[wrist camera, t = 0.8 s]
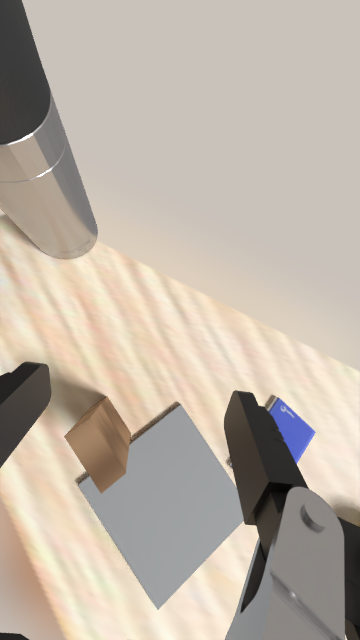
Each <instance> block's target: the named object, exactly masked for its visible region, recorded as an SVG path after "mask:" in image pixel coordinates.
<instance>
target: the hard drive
mask: <svg viewBox="0 0 360 640" xmlns="http://www.w3.org/2000/svg"><path fill="white" fill-rule="evenodd" d="M267 411H268V412H269V413H270V414H271V415H272V416H273V418H274V420H275V422H276V424H277V426H278V428H279V432H281V434H282V436H283V438H284V442H286V444H287V446H288V448H289V450H290V452H291V454H292V456H293V458H294V460H295V462H296V464H297V462H298V461H299V459H300V457H301V456H302V454H303V452H304V451H305V449H306V447H307V446H308V444H309V442H310V441H311V439H312V438H313V436H314V434H315V431H314V430H313V429H312V428H311V427H310V426H309V425H308V424H307V423H306V422H305V421H303V420H302V419H301V418H300V417H299V416H298V415H297V414H296V413H295V412H294V411H293V410H292V409H291V408H290V407H289V406H288V405H286V404H285V403H284V402H283V401H282V400H281V399H280V398H278V397H275V398H274V400H273V401H272V403H271V404H270V406H269V407H268V409H267ZM230 465H231V467H232V463H230ZM232 468H233V467H232Z"/></svg>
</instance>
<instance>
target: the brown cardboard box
mask: <svg viewBox="0 0 360 640" xmlns="http://www.w3.org/2000/svg"><path fill="white" fill-rule="evenodd" d="M130 436H131V432H130V431H129V429H128V428H127V426H126V425H125V423H124V422H123V420H122V418H121V417H120V415H119V414H118V412H117V411H116V409H115V408H114V406H113V405H112V403H111V402H110V400H109V399H108V397H106V398H104V399H103V400H101V401H100V402H98V403H97V404H96V405H94V406H93V407H91V408H90V409H89V410H88V411H87V413H86V414H85V415H84V416H83V417H82V418H81V419H80V420H79V421H78V422H77V423H76V424H75V425H74V427H73V428H72V429H71V430H70V431H69V432H68V433H67V434H66V435H65V436H64V437H65V438H66V440H67V441H68V443H69V445H70V446H71V448H72V449H73V451H74V452H75V454H76V455H77V457H78V459H79V460H80V462H81V463H82V465H83V466H84V468H85V470H86V471H87V473H88V474H89V476H90V477H91V479H92V480H93V482H94V484H95V485H96V487H97V488H98V490H99V491H100V493H101V494H102V493H103V492H104V491H105V490H106V489H108V488H109V487H110V486H111V485H113V484H114V483H115V482H116V481H117V480H119V479H120V478H121V477H122V476H124V475H125V474H126V468H127V460H128V452H129V444H130Z"/></svg>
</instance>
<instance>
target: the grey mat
mask: <svg viewBox="0 0 360 640" xmlns="http://www.w3.org/2000/svg"><path fill="white" fill-rule="evenodd" d="M78 486H79V487H80V489H81V491H82V492H83V494H84V495H85V497H86V498H87V500H88V502H89V503H90V505H91V506H92V508H93V509H94V511H95V513H96V514H97V516H98V517H99V519H100V520H101V522H102V523H103V525H104V527H105V528H106V530H107V531H108V533H109V534H110V536H111V538H112V539H113V541H114V542H115V544H116V545H117V547H118V549H119V550H120V552H121V553H122V555H123V556H124V558H125V559H126V561H127V563H128V564H129V566H130V567H131V569H132V570H133V572H134V574H135V575H136V577H137V578H138V580H139V581H140V583H141V585H142V586H143V588H144V589H145V591H146V592H147V594H148V595H149V597H150V599H151V600H152V602H153V603H154V605H155V606H156V608H157V610H158V609H159V608H160V607H161V606H162V605H163V604H164V603H165V602H166V601H167V600H168V599H169V598H170V597H171V596H172V595H173V594H174V593H175V592H176V591H177V589H178V588H179V587H180V586H181V585H182V584H183V583H184V582H185V581H186V580H187V579H188V578H189V577H190V576H191V575H192V574H193V573H194V572H195V571H196V570H197V569H198V568H199V566H200V565H201V564H202V563H203V562H204V561H205V560H206V559H207V558H208V557H209V556H210V555H211V554H212V553H213V552H214V551H215V550H216V549H217V548H218V547H219V546H220V545H221V544H222V542H223V541H224V540H225V539H226V538H227V537H228V536H229V535H230V534H231V533H232V532H233V531H234V530H235V529H236V528H237V527H238V526H239V525H240V524H241V523H242V522H243V521H244V518H243V513H242V509H241V504H240V500H239V495H238V490H237V488H236V486H235V485H234V483H233V482H232V480H231V479H230V477H229V476H228V474H227V473H226V471H225V470H224V468H223V467H222V465H221V464H220V462H219V461H218V459H217V458H216V456H215V455H214V453H213V452H212V450H211V449H210V447H209V446H208V444H207V443H206V441H205V440H204V438H203V437H202V435H201V434H200V432H199V431H198V429H197V428H196V426H195V425H194V423H193V422H192V420H191V419H190V417H189V416H188V414H187V413H186V411H185V410H184V408H183V407H182V405H181V404H179V405H178V406H177V407H175V408H174V409H173V410H172V411H170V412H169V413H168V414H166V415H165V416H164V417H163V418H161V419H160V420H159V421H157V422H156V423H155V424H154V425H152V426H151V427H150V428H149V429H147V430H146V431H145V432H143V433H142V434H141V435H140V436H138V437H137V438H136V439H134V440H133V441H132V442H131V443H130V444H129V452H128V460H127V468H126V474H125V475H124V476H122V477H121V478H120V479H119V480H117V481H116V482H115V483H114V484H113V485H111V486H110V487H109V488H108V489H106V490H105V491H104V492H103V493H102V494H101V493H100V491H99V490H98V488H97V487H96V485H95V484H94V482H93V480H92V479H91V477H90V476H89V475H88V476H87V477H86V478H85V479H83V480H82V481H81V482H80V483H79V485H78Z"/></svg>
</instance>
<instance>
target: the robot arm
mask: <svg viewBox="0 0 360 640" xmlns="http://www.w3.org/2000/svg"><path fill="white" fill-rule="evenodd" d="M0 208H1V209H2V211H3V212H4V213H5V214H6V215H7V216H8V217H9V218H10V219H11V220H12V221H13V222H14V223H15V224H16V225H17V226H18V227H19V228H20V229H21V230H22V231H23V232H24V233H25V234H26V236H27V237H28V238H29V239H30V240H31V241H32V242H33V243H34V244H35V245H36V246H37V247H38V248H39V249H40V250H41V251H43V252H44V253H46V254H47V255H49V256H52V257H54V258H59V259H72V258H77V257H79V256H82V255H83V254H85V253H87V252H88V251H89V250H90V249H91V248H92V247H93V245H94V244H95V242H96V239H97V234H98V230H97V224H96V221H95V218H94V216H93V213H92V210H91V207H90V204H89V201H88V198H87V195H86V192H85V189H84V186H83V183H82V180H81V177H80V174H79V171H78V168H77V166H76V163H75V160H74V157H73V154H72V151H71V148H70V145H69V142H68V139H67V136H66V133H65V130H64V127H63V125H62V122H61V119H60V116H59V113H58V110H57V108H56V105H55V102H54V99H53V96H52V93H51V90H50V87H49V84H48V81H47V78H46V75H45V73H44V70H43V67H42V64H41V61H40V58H39V55H38V52H37V48H36V45H35V42H34V39H33V35H32V32H31V29H30V26H29V22H28V19H27V16H26V12H25V9H24V6H23V3H22V0H0ZM50 397H51V386H50V376H49V368H48V365H46V364H41V363H34V362H24V363H22V364H21V365H20V366H19V367H18V368H16V369H15V370H14V371H13V372H12V373H9V372H8V373H5V374H3V375H1V376H0V468H1V466H2V465H3V464H4V462H5V461H6V460H7V459H8V457H9V456H10V455H11V453H12V452H13V451H14V449H15V448H16V447H17V445H18V444H19V443H20V441H21V440H22V439H23V437H24V436H25V435H26V433H27V432H28V431H29V429H30V428H31V427H32V426H33V424H34V423H35V422H36V420H37V419H38V418H39V416H40V415H41V414H42V412H43V411H44V410H45V408H46V407H47V405H48V403H49V401H50ZM224 430H225V435H226V440H227V444H228V449H229V454H230V458H231V463H232V467H233V472H234V477H235V481H236V486H237V490H238V495H239V500H240V504H241V509H242V513H243V518H244V523H245V524H246V525H256V526H257V530H258V534H259V539H258V541H257V544H256V547H255V551H254V554H253V557H252V561H251V564H250V567H249V570H248V574H247V577H246V580H245V584H244V587H243V590H242V594H241V597H240V600H239V604H238V607H237V610H236V613H235V616H234V619H233V621H232V624H231V626H230V628H229V630H228V633H227V635H226V638H225V640H345V635H346V637H347V640H360V527H358V526H356V525H354V524H351V523H349V522H347V521H345V520H343V519H341V518H339V517H337V516H336V514H335V513H334V511H333V510H332V509H331V507H330V506H329V505H328V504H327V503H326V502H325V501H324V500H323V499H322V498H321V497H320V496H319V495H317V494H316V493H314V492H313V491H311V490H309V488H308V486H307V484H306V482H305V480H304V478H303V476H302V474H301V472H300V470H299V468H298V466H297V464H296V462H295V460H294V458H293V456H292V454H291V452H290V450H289V448H288V446H287V444H286V442H284V438H283V436H282V434H281V432H279V428H278V426H277V424H276V422H275V420H274V418H273V416H272V415H271V414H270V413H269V412H268V411H267V410H266V409H265V407H262V406H259V405H258V403H257V401H256V399H255V396H254V394H253V393H250V392H243V391H236V390H235V391H234V392H233V394H232V396H231V399H230V402H229V405H228V408H227V411H226V414H225V417H224ZM0 640H29V639H27V638H26V637H24V636H23V635H21V634H14V633H0Z"/></svg>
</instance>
